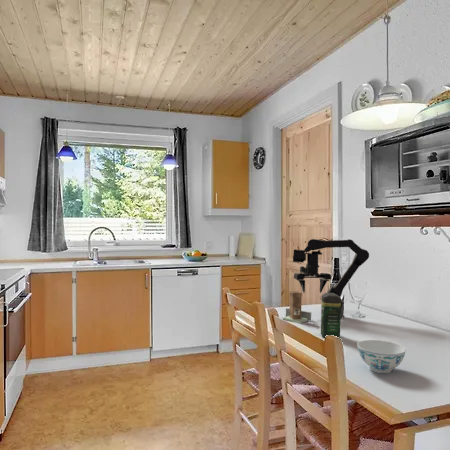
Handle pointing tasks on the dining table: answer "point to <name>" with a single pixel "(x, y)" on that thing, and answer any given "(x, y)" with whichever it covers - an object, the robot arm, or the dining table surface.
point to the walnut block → (295, 304)
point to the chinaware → (381, 354)
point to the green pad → (295, 319)
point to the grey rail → (303, 314)
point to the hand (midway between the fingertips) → (312, 292)
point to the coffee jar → (330, 314)
